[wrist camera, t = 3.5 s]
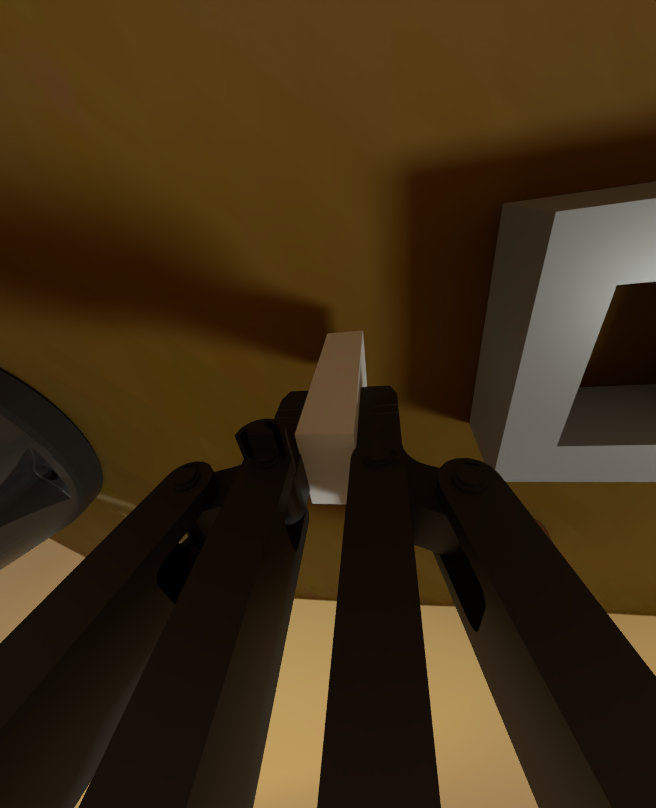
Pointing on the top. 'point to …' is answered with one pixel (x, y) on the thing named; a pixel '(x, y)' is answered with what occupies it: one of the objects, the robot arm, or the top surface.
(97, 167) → the top surface
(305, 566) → the top surface
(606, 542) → the top surface
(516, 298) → the grey square frame
